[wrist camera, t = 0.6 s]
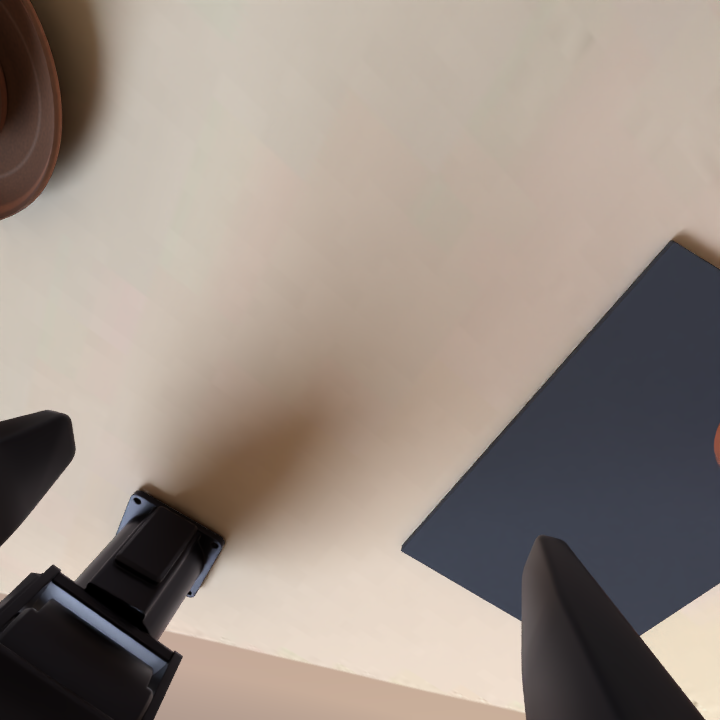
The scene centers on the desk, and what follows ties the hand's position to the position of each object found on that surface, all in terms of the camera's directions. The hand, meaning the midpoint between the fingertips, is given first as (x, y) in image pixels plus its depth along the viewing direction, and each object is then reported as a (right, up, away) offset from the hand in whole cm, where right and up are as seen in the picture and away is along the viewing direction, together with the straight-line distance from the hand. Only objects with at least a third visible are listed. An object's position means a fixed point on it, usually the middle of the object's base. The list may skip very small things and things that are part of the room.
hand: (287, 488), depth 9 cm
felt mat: (+14, -4, +14) cm, 20 cm away
